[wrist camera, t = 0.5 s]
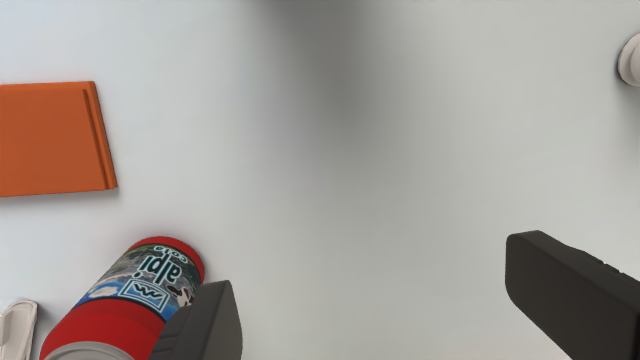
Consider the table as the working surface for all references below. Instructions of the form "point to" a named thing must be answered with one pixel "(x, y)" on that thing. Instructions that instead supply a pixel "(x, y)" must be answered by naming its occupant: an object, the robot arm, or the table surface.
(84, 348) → the beverage can
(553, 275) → the robot arm
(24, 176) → the folded cloth
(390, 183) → the table surface
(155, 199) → the table surface
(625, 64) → the rook chess piece
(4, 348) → the tablet stand
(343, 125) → the table surface
